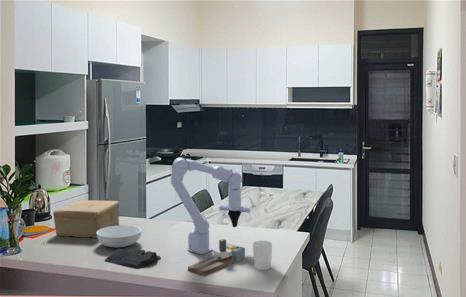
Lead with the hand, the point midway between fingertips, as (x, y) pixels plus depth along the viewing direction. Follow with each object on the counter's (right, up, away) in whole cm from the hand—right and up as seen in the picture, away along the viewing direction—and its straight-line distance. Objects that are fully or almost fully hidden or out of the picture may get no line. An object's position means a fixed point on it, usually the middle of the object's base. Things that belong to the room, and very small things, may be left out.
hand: (234, 226), depth 218 cm
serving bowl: (-55, -10, +9) cm, 57 cm away
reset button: (-1, -11, -11) cm, 15 cm away
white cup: (+11, -13, -23) cm, 28 cm away
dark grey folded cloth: (-44, -13, -13) cm, 48 cm away
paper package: (-78, -8, +33) cm, 85 cm away
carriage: (-5, -11, -16) cm, 20 cm away
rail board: (-9, -13, -21) cm, 26 cm away
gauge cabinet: (-1, -12, -11) cm, 16 cm away
